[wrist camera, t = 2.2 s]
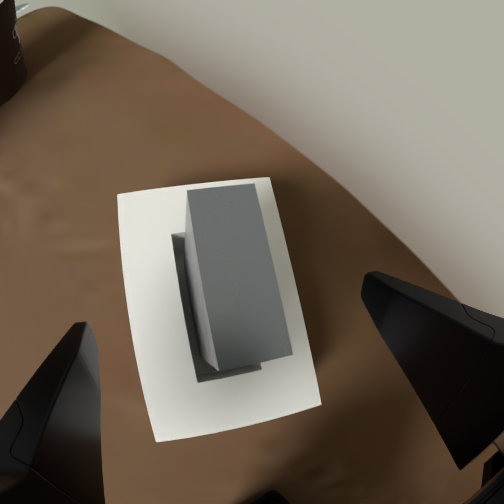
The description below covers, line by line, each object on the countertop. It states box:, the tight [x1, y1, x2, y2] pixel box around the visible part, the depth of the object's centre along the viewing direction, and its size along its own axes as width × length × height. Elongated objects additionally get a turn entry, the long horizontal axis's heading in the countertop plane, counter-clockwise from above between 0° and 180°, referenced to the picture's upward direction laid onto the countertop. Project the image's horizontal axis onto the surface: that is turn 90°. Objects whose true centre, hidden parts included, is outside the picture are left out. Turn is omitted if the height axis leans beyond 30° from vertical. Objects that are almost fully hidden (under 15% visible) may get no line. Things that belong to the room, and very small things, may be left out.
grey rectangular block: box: [184, 183, 293, 371], centre depth 13 cm, size 5×2×10 cm, turn 12°
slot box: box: [117, 177, 322, 442], centre depth 17 cm, size 12×8×4 cm, turn 12°
